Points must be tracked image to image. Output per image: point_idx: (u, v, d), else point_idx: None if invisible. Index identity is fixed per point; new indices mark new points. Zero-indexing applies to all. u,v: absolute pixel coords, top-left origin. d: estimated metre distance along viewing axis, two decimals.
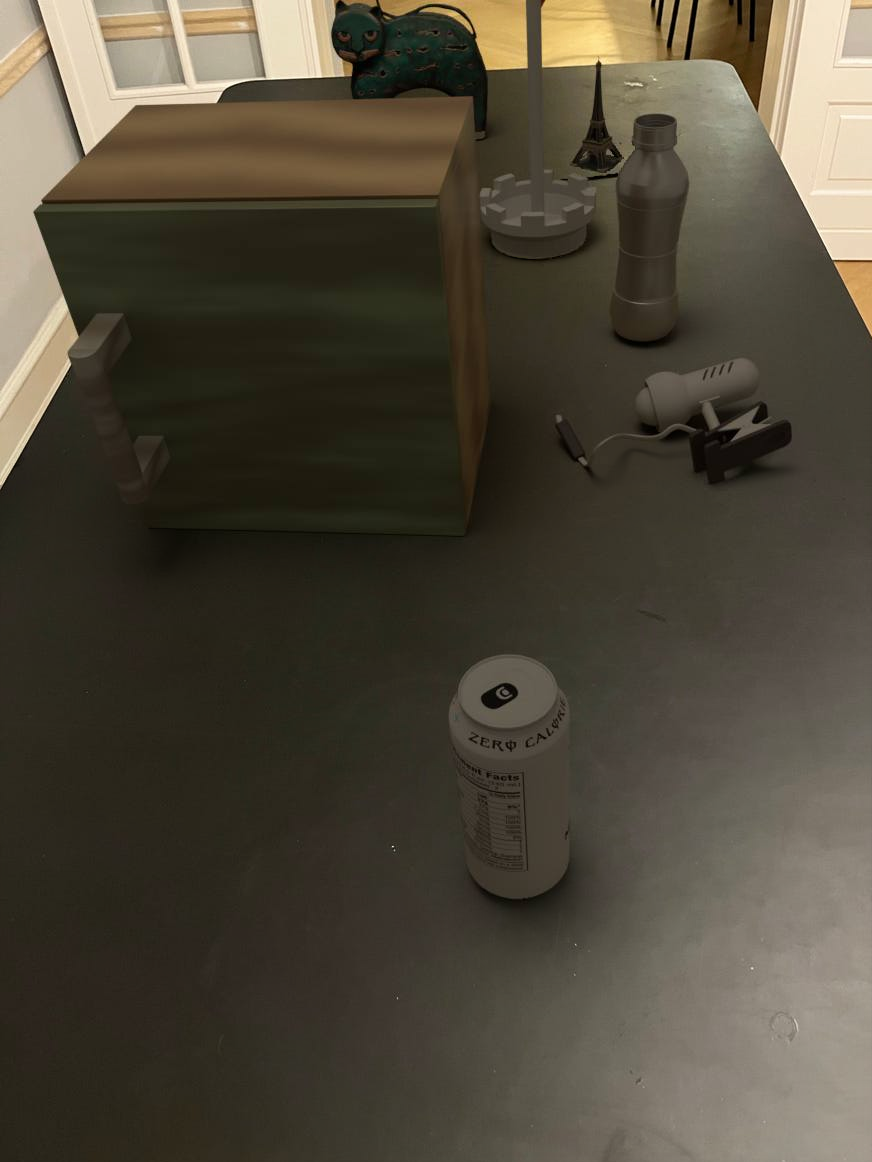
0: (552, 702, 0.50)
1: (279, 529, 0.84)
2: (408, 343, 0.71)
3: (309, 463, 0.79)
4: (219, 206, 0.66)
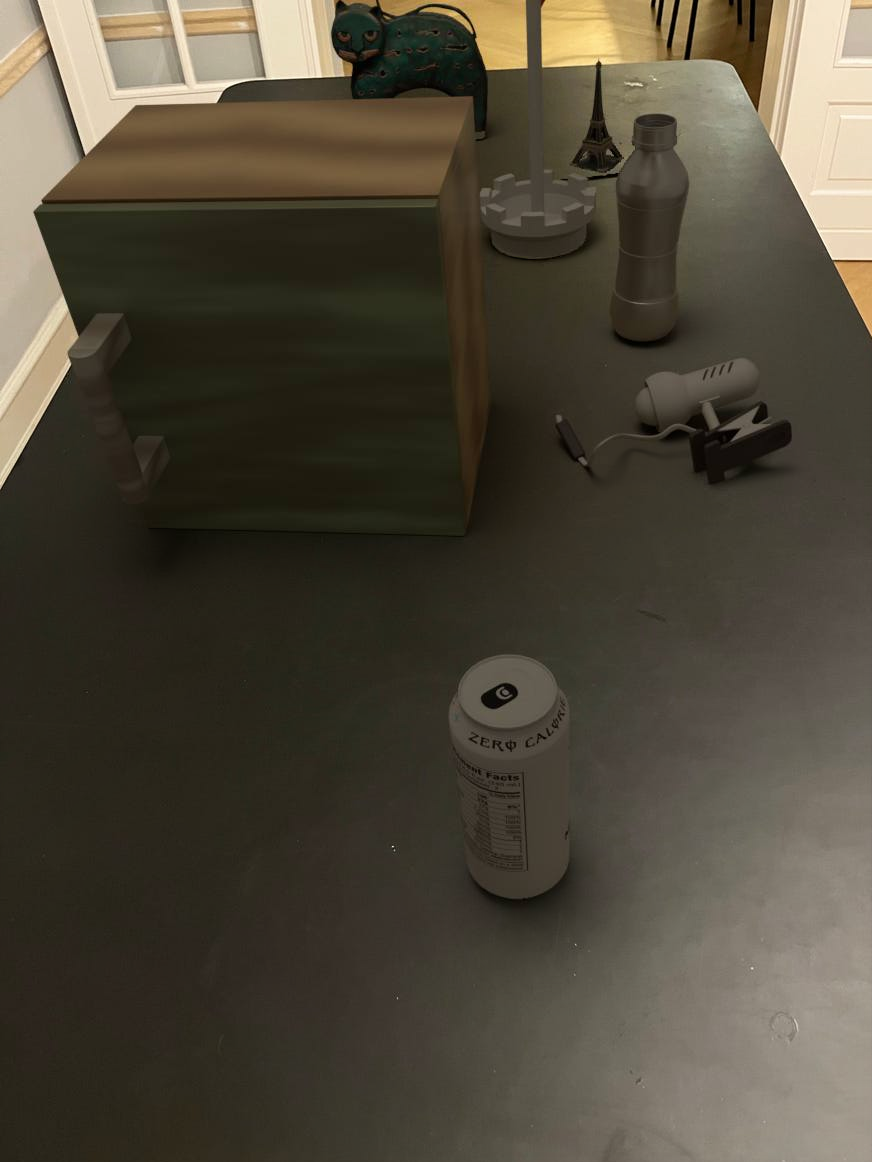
0: (552, 702, 0.50)
1: (279, 529, 0.84)
2: (408, 343, 0.71)
3: (309, 463, 0.79)
4: (219, 206, 0.66)
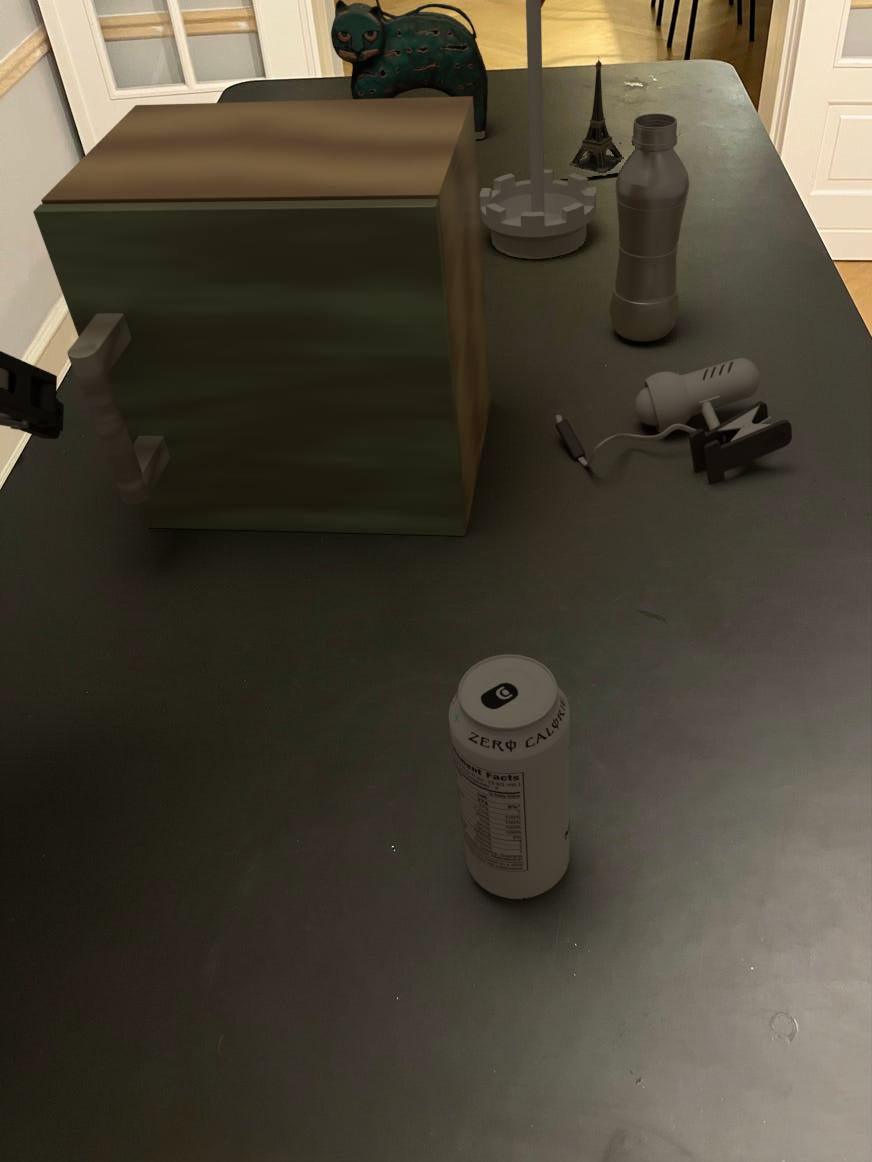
0: (552, 701, 0.50)
1: (279, 529, 0.84)
2: (408, 343, 0.71)
3: (309, 463, 0.79)
4: (219, 206, 0.66)
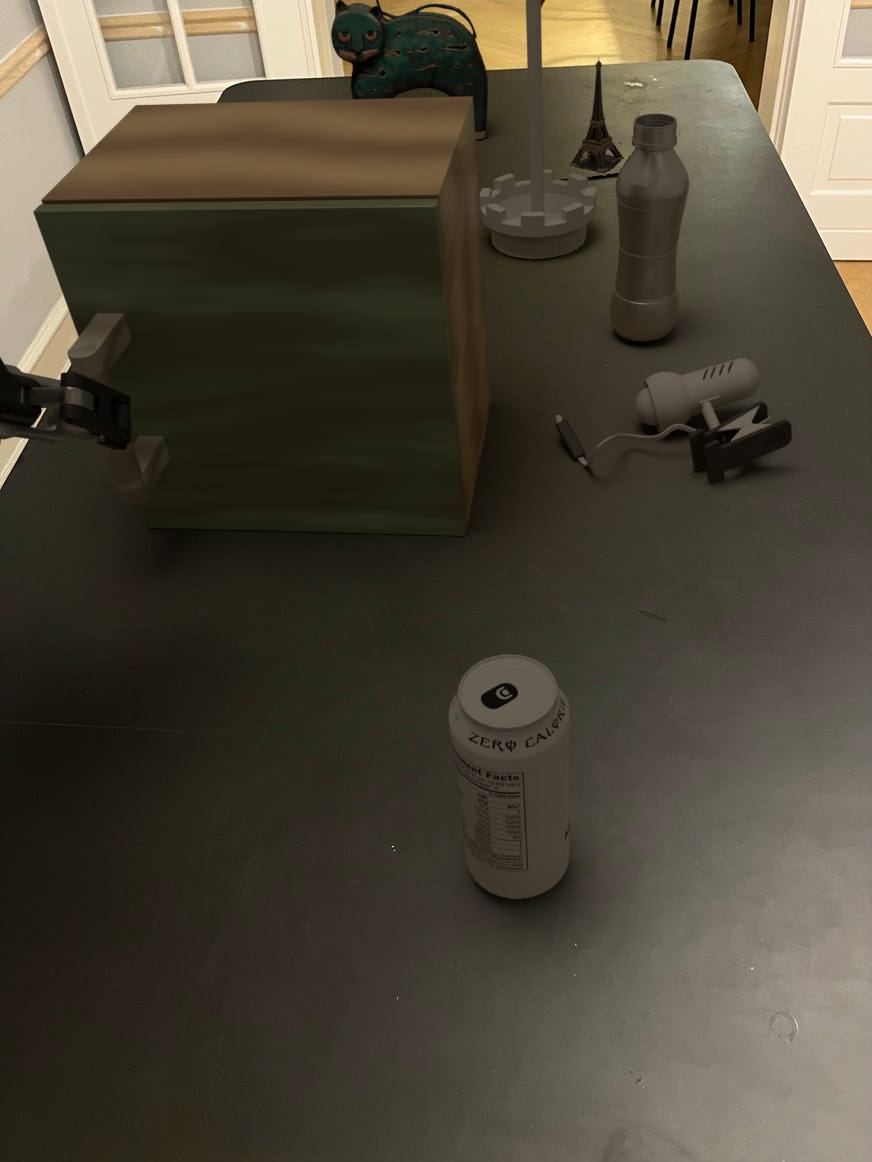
0: (552, 702, 0.50)
1: (279, 529, 0.84)
2: (408, 343, 0.71)
3: (309, 463, 0.79)
4: (219, 206, 0.66)
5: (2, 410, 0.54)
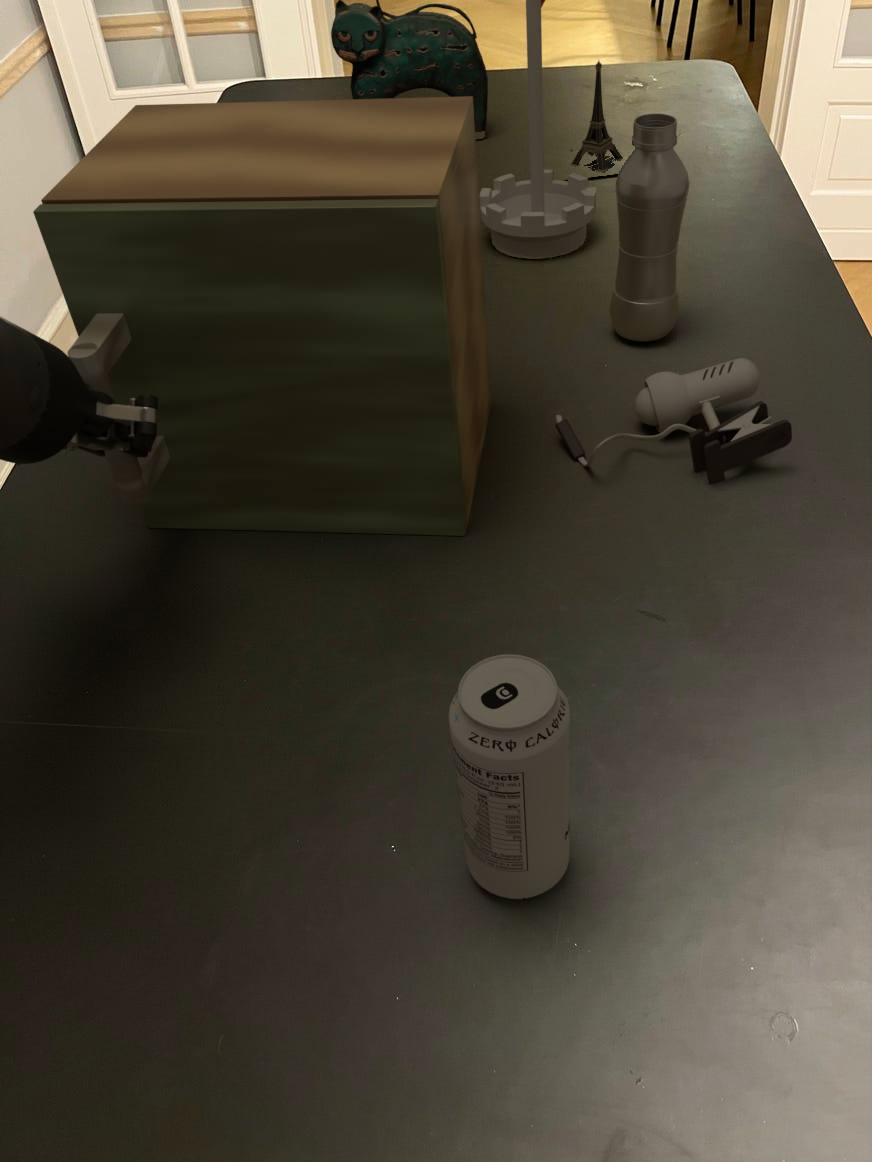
0: (552, 701, 0.50)
1: (279, 529, 0.84)
2: (408, 343, 0.71)
3: (309, 463, 0.79)
4: (219, 206, 0.66)
5: (82, 421, 0.62)
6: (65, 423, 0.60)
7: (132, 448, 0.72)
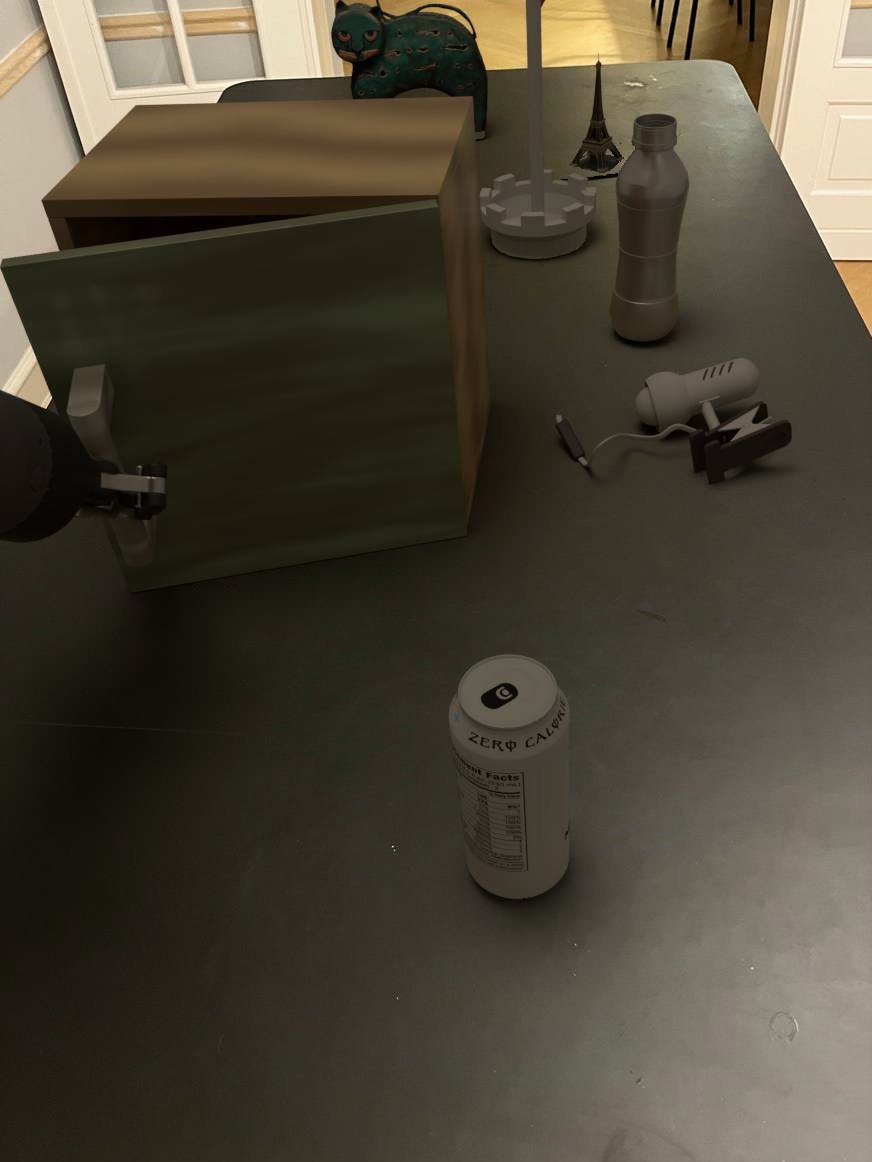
0: (552, 702, 0.50)
1: (276, 566, 0.81)
2: (411, 349, 0.70)
3: (308, 490, 0.76)
4: (210, 235, 0.63)
5: (86, 496, 0.56)
6: (68, 500, 0.55)
7: (136, 512, 0.67)
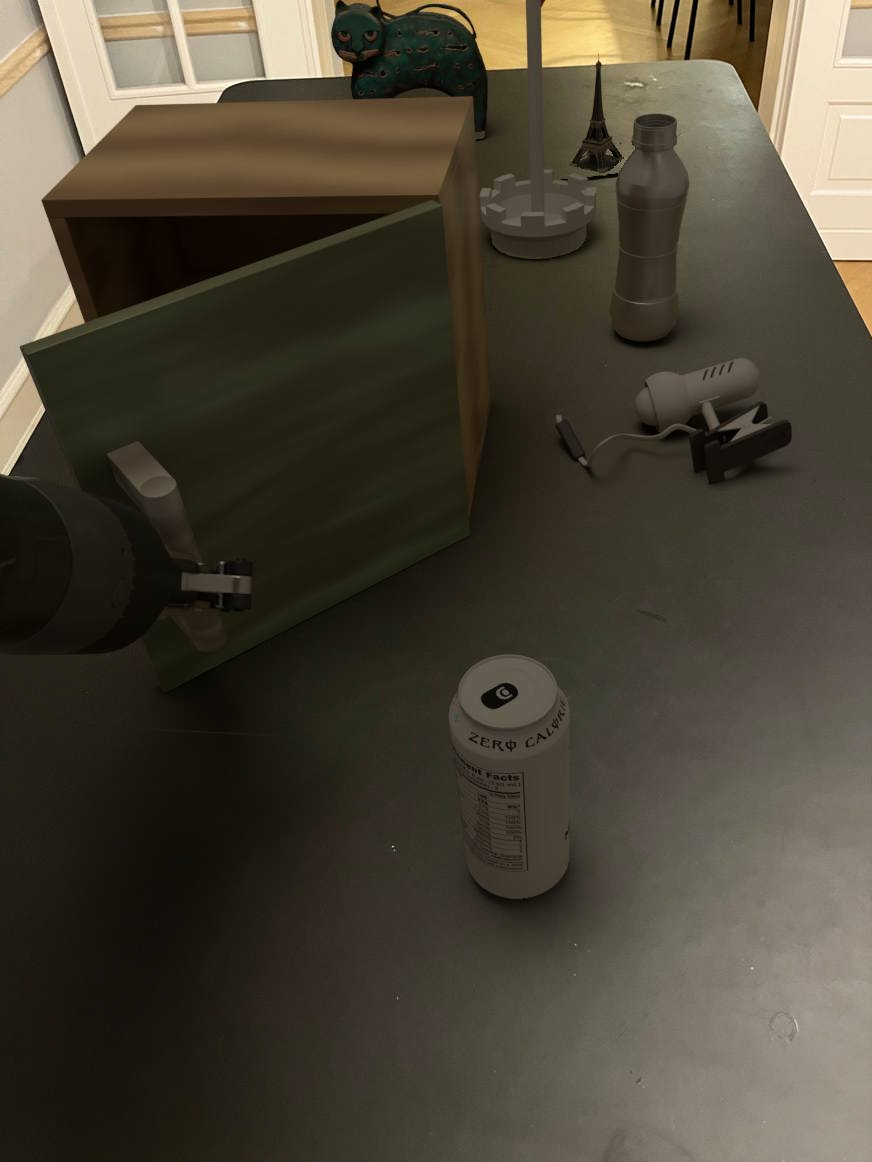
0: (552, 702, 0.50)
1: (304, 618, 0.76)
2: (421, 356, 0.69)
3: (333, 528, 0.73)
4: (238, 275, 0.59)
5: (166, 603, 0.50)
6: (148, 610, 0.48)
7: (209, 603, 0.60)
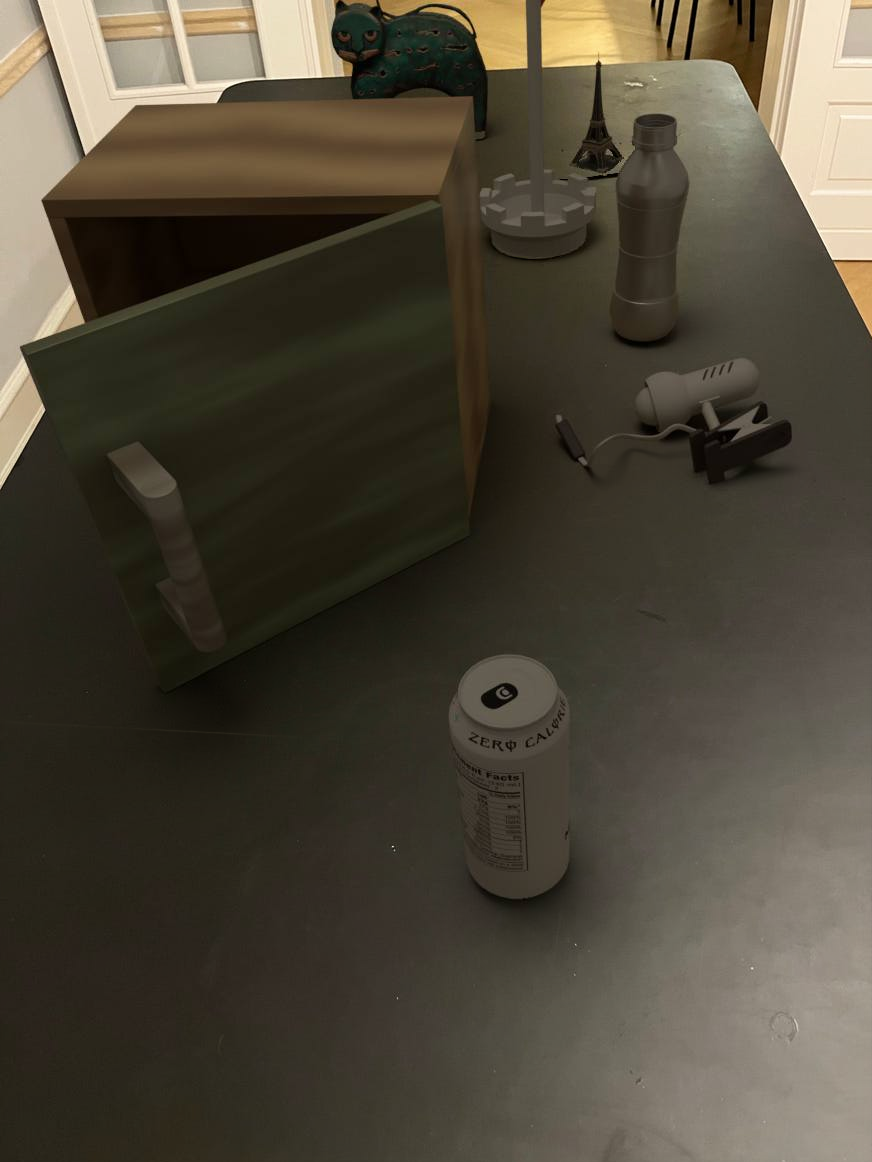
0: (552, 702, 0.50)
1: (304, 618, 0.76)
2: (421, 356, 0.69)
3: (333, 528, 0.73)
4: (238, 275, 0.59)
5: None
6: None
7: None
